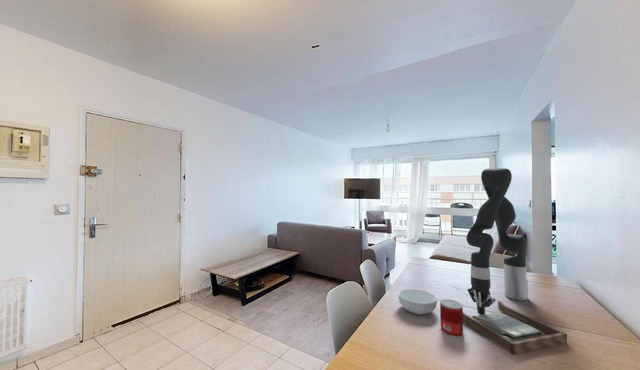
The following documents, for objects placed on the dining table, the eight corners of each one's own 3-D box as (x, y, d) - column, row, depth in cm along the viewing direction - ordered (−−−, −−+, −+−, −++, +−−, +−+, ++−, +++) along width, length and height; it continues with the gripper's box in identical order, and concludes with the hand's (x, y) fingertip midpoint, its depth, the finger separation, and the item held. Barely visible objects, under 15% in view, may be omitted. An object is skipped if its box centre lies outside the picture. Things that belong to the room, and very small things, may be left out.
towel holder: (499, 307, 117) (499, 300, 117) (571, 342, 90) (571, 333, 90) (447, 315, 109) (447, 307, 110) (508, 355, 82) (507, 345, 82)
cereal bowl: (434, 305, 119) (434, 291, 119) (439, 322, 104) (439, 306, 104) (398, 300, 125) (398, 286, 125) (398, 315, 109) (398, 300, 109)
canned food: (466, 337, 93) (465, 308, 93) (443, 335, 94) (443, 306, 95) (458, 326, 100) (458, 300, 101) (438, 324, 102) (437, 298, 102)
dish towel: (498, 314, 111) (498, 307, 111) (543, 337, 94) (543, 328, 94) (466, 320, 106) (466, 312, 106) (507, 345, 89) (507, 336, 89)
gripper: (500, 280, 104) (501, 320, 104) (474, 270, 117) (475, 306, 117) (486, 281, 103) (487, 322, 102) (461, 271, 116) (462, 308, 115)
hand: (481, 314), depth 110 cm, fingers closed
